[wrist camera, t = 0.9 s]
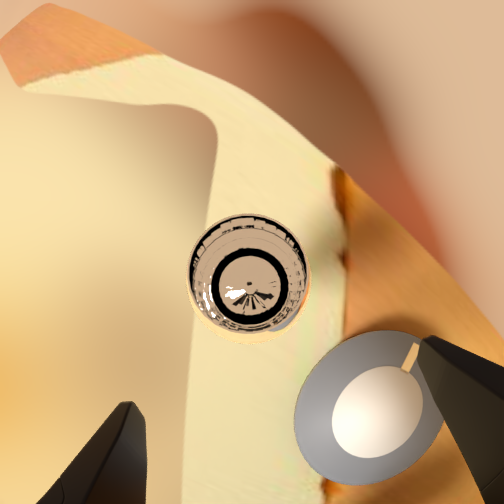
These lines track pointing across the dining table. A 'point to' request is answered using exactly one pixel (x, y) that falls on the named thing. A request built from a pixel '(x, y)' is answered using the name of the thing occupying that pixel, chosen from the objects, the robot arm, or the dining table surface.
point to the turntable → (366, 409)
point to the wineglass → (248, 278)
